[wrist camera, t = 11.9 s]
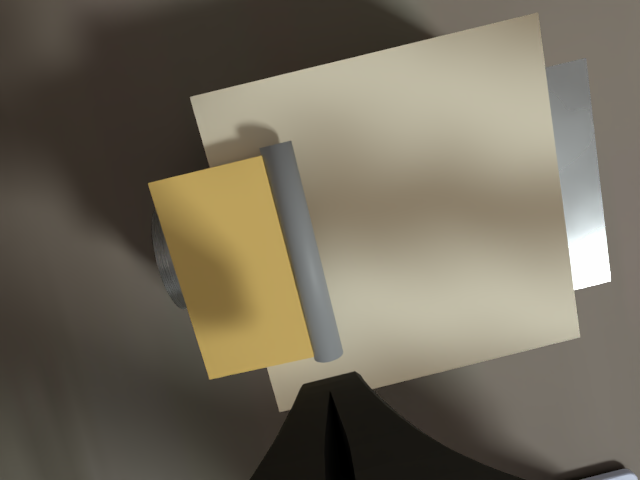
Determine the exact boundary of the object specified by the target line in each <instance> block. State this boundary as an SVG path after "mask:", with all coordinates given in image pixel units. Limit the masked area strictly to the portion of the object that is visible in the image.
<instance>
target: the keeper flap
mask: <svg viewBox="0 0 640 480" xmlns="http://www.w3.org/2000/svg"><path fill="white" fill-rule="evenodd" d="M259 149H260V153H261V156H257V157H252V158H248V159H244V160H240V161H236V162H232V163H228V164H224V165H220V166H215V167H211V168H207V169H203V170H199V171H195V172H191V173H187V174H183V175H178V176H174V177H170V178H166V179H162V180H158V181H154V182H151V183H148V186H149V189H150V192H151V195H152V198H153V202H154V205H155V208H156V211H157V214H158V217H159V221H160V224H161V227H162V230H163V233H164V236H165V240H166V243H167V246H168V249H169V252H170V255H171V259H172V262H173V265H174V268H175V271H176V274H177V278H178V281H179V284H180V287H181V290H182V294H183V297H184V300H185V303H186V306H187V309H188V313H189V316H190V319H191V322H192V325H193V328H194V332H195V335H196V338H197V341H198V344H199V347H200V351H201V354H202V357H203V360H204V363H205V366H206V370H207V373H208V376H209V379H215V378H219V377H224V376H229V375H233V374H238V373H243V372H247V371H252V370H256V369H261V368H266V367H270V366H275V365H280V364H284V363H289V362H294V361H298V360H303V359H308V358H312V357H314V359H315V361H317V362H320V363H325V362H331V361H334V360H336V359H338V358H339V357H341V356H342V354H343V349H342V345H341V340H340V336H339V332H338V328H337V324H336V320H335V316H334V312H333V308H332V304H331V300H330V296H329V292H328V288H327V284H326V279H325V275H324V271H323V267H322V263H321V259H320V255H319V251H318V247H317V243H316V239H315V235H314V231H313V227H312V223H311V218H310V214H309V210H308V206H307V202H306V198H305V194H304V190H303V186H302V182H301V178H300V174H299V170H298V166H297V162H296V157H295V153H294V149H293V145H292V141H287V142H283V143H279V144H275V145H271V146H267V147H262V148H259Z"/></svg>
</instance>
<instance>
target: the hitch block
mask: <svg viewBox="0 0 640 480" xmlns="http://www.w3.org/2000/svg"><path fill="white" fill-rule="evenodd" d="M190 100H191V103H192V107H193V110H194V114H195V117H196V121H197V125H198V128H199V132H200V135H201V139H202V142H203V146H204V149H205V153H206V156H207V160H208V163H209V167H210V168H211V167H215V166H220V165H224V164H228V163H232V162H236V161H240V160H244V159H248V158H252V157H257V156H261V153H260V149H259V148H262V147H267V146H271V145H275V144H279V143H283V142H287V141H292V145H293V149H294V153H295V157H296V162H297V166H298V170H299V174H300V178H301V182H302V186H303V190H304V194H305V198H306V202H307V206H308V210H309V214H310V218H311V223H312V227H313V231H314V235H315V239H316V243H317V247H318V251H319V255H320V259H321V263H322V267H323V271H324V275H325V279H326V284H327V288H328V292H329V296H330V300H331V304H332V308H333V312H334V316H335V320H336V324H337V328H338V332H339V336H340V340H341V345H342V349H343V354H342V356H341V357H339V358H338V359H336V360H334V361H331V362H325V363H320V362H317V361H315V359H314V357H312V358H308V359H303V360H298V361H294V362H289V363H284V364H280V365H275V366H270V367H267V370H268V373H269V377H270V380H271V384H272V387H273V391H274V394H275V398H276V401H277V405H278V408H279V412H283V411H287V410H291V408H292V406H293V404H294V401H295V399H296V397H297V394H298V392H299V390H300V388H301V387H302V385H303V384H305V383H309V382H313V381H317V380H321V379H325V378H329V377H333V376H337V375H341V374H345V373H349V372H353V371H356V372H357V373H359V374H360V375H361V376H362V378H363V379H364V381H365V382H366V383H367V384H368V385H369V386H370V388H371V389H375V388H379V387H383V386H387V385H391V384H395V383H399V382H403V381H407V380H411V379H415V378H419V377H423V376H427V375H431V374H435V373H439V372H443V371H447V370H451V369H455V368H459V367H463V366H467V365H471V364H475V363H479V362H483V361H487V360H491V359H495V358H499V357H503V356H507V355H511V354H515V353H519V352H523V351H527V350H531V349H535V348H539V347H543V346H547V345H551V344H555V343H559V342H563V341H567V340H571V339H575V338H579V337H580V332H579V325H578V317H577V309H576V301H575V294H574V286H573V278H572V271H571V263H570V255H569V247H568V240H567V232H566V224H565V217H564V209H563V201H562V193H561V186H560V178H559V170H558V163H557V155H556V147H555V139H554V132H553V124H552V116H551V109H550V101H549V93H548V85H547V78H546V70H545V62H544V55H543V47H542V39H541V31H540V24H539V16H538V13H534V14H530V15H526V16H522V17H518V18H513V19H509V20H505V21H501V22H497V23H493V24H489V25H485V26H480V27H476V28H472V29H468V30H464V31H460V32H456V33H452V34H447V35H443V36H439V37H435V38H431V39H427V40H423V41H419V42H414V43H410V44H406V45H402V46H398V47H394V48H390V49H386V50H381V51H377V52H373V53H369V54H365V55H361V56H357V57H353V58H348V59H344V60H340V61H336V62H332V63H328V64H324V65H320V66H315V67H311V68H307V69H303V70H299V71H295V72H291V73H287V74H282V75H278V76H274V77H270V78H266V79H262V80H258V81H254V82H249V83H245V84H241V85H237V86H233V87H229V88H225V89H221V90H216V91H212V92H208V93H204V94H200V95H196V96H192V97H190Z"/></svg>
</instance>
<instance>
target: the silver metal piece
mask: <svg viewBox="0 0 640 480" xmlns="http://www.w3.org/2000/svg"><path fill="white" fill-rule="evenodd" d="M545 70H546V78H547V85H548V93H549V101H550V109H551V116H552V124H553V132H554V139H555V147H556V155H557V163H558V170H559V178H560V186H561V193H562V201H563V209H564V217H565V224H566V232H567V240H568V247H569V255H570V263H571V271H572V278H573V286H574V290H577V289H581V288H585V287H589V286H593V285H597V284H601V283H605V282H609V281H611V277H610V268H609V259H608V250H607V241H606V232H605V223H604V214H603V205H602V196H601V187H600V178H599V169H598V160H597V151H596V142H595V133H594V124H593V115H592V107H591V98H590V89H589V80H588V71H587V62H586V58H584V59H579V60H575V61H571V62H567V63H563V64H559V65H555V66H551V67H547V68H545ZM151 230H152V242H153V249H154V254H155V258H156V262H157V266H158V269H159V272H160V275H161V278H162V281H163V283H164V286H165V288H166V290H167V292H168V294H169V296H170V297H171V299H172V300H173V302H174V303H175V304H176V305H177V306H178V307H179V308H181V309H186V308H187V306H186V303H185V300H184V297H183V294H182V290H181V287H180V284H179V281H178V278H177V274H176V271H175V268H174V265H173V262H172V259H171V255H170V252H169V249H168V246H167V243H166V240H165V236H164V233H163V230H162V227H161V224H160V221H159V217H158V214H157V211H156V209H155V211H154V213H153V216H152V226H151Z"/></svg>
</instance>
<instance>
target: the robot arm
mask: <svg viewBox="0 0 640 480" xmlns="http://www.w3.org/2000/svg"><path fill="white" fill-rule="evenodd" d="M250 480H525V479H522V478H519V477H516V476H513V475H510V474H507V473H504V472H501V471H499V470H496V469H493V468H491V467H488V466H486V465H483V464H481V463H479V462H477V461H474V460H472V459H470V458H468V457H466V456H463V455H461V454H459V453H457V452H455V451H453V450H451V449H449V448H447V447H446V446H444V445H442V444H441V443H439V442H437V441H435V440H434V439H432V438H431V437H429V436H428V435H426V434H425V433H423V432H422V431H420V430H419V429H417V428H416V427H415V426H413V425H412V424H411V423H409V422H408V421H407V420H405V419H404V418H403V417H402V416H400V415H399V414H398V413H397V412H396V411H394V410H393V409H392V408H391V407H390V406H389V405H388V404H387V403H385V402H384V401H383V400H382V399H381V398H380V397H379V396H378V395H377V394H376V393H375V392H374V391H373V390H372V389H371V388H370V386H369V385H368V384H367V383H366V382H365V381H364V379H363V378H362V376H361V375H360V374H359V373H357V372H356V371H353V372H349V373H345V374H341V375H337V376H333V377H329V378H325V379H321V380H317V381H313V382H309V383H305V384H303V385H302V387H301V388H300V390H299V392H298V394H297V397H296V399H295V401H294V404H293V406H292V408H291V410H290V412H289V414H288V416H287V418H286V420H285V422H284V424H283V426H282V428H281V430H280V432H279V434H278V435H277V437H276V439H275V441H274V443H273V444H272V446H271V447H270V449H269V451H268V452H267V454H266V456H265V457H264V459H263V460H262V462H261V464H260V465H259V467H258V468H257V470H256V471H255V473H254V474H253V476H252V477H251V478H250ZM581 480H638V479H637V476H636V475H635V474H634V473H633V472H632V471H631V470H629V469H620V470H616V471H612V472H608V473H605V474H601V475H597V476H593V477H589V478H585V479H581Z"/></svg>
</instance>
